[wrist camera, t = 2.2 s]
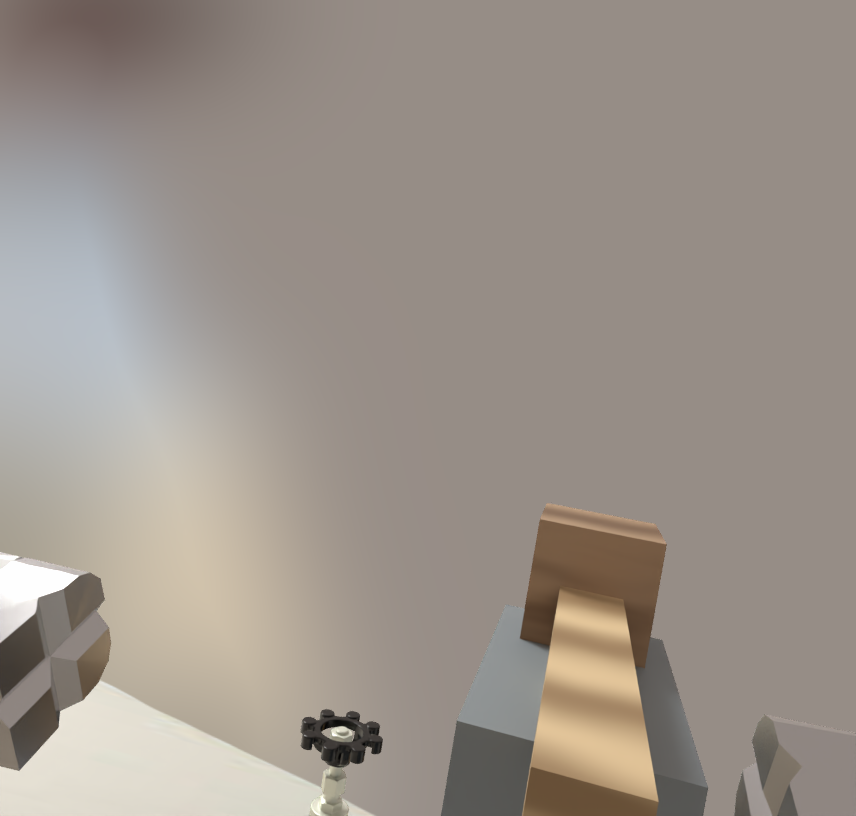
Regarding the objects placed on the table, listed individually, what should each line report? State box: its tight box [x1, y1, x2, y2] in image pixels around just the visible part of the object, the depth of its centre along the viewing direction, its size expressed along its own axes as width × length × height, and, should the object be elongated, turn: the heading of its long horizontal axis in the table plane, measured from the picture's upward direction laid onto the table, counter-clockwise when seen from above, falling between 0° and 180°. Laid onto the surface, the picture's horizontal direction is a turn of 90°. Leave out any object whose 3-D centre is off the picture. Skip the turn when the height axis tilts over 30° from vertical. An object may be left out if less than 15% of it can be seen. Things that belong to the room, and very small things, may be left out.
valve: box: [301, 709, 383, 816], centre depth 56 cm, size 7×7×12 cm
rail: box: [520, 503, 667, 816], centre depth 34 cm, size 28×7×7 cm, turn 167°
